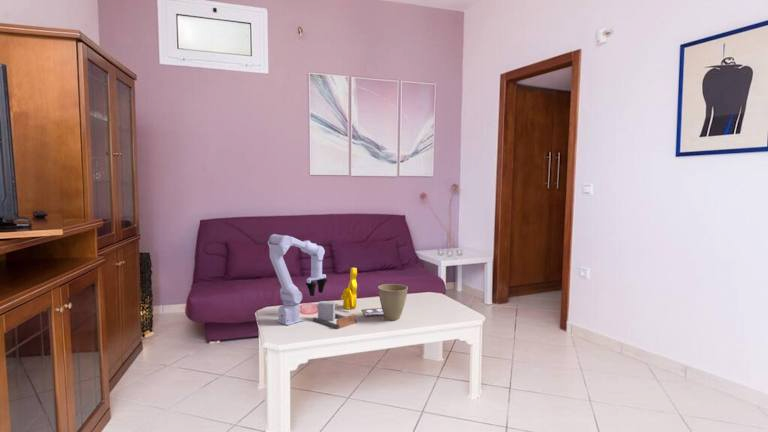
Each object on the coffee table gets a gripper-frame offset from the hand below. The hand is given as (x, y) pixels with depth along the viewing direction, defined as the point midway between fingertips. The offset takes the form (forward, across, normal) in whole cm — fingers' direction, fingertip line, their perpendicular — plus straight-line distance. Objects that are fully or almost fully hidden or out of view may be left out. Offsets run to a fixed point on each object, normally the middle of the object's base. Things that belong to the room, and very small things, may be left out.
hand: (316, 294), depth 227 cm
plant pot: (+10, +12, -39) cm, 42 cm away
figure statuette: (+10, +17, -10) cm, 22 cm away
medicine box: (+10, -6, -10) cm, 16 cm away
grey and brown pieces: (+10, -7, -16) cm, 20 cm away
